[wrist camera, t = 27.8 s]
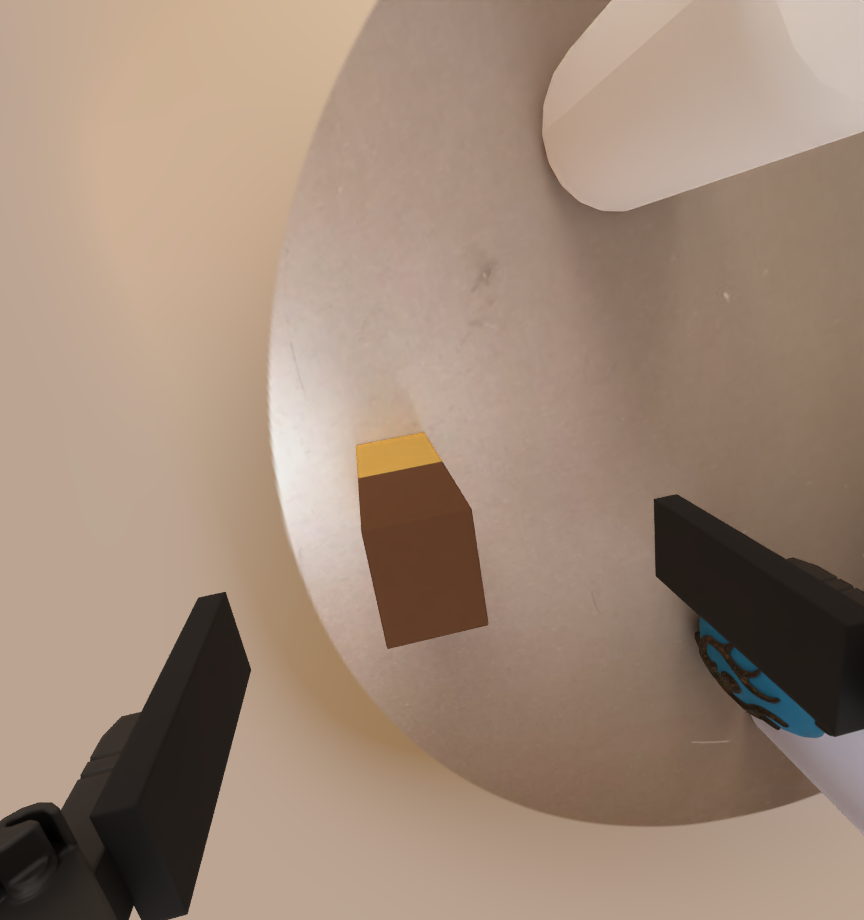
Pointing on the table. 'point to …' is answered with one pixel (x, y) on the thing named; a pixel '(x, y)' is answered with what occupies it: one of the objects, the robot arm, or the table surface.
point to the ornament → (752, 686)
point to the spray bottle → (828, 766)
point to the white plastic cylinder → (700, 93)
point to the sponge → (418, 542)
